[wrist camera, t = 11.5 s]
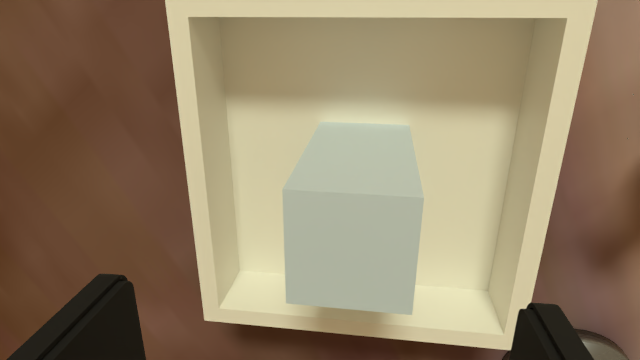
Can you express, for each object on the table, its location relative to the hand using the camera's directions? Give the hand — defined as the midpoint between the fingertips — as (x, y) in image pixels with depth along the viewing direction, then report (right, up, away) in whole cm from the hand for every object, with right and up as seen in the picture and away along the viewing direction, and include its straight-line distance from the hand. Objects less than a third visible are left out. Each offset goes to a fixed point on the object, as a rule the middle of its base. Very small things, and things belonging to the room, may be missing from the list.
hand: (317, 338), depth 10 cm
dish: (+2, +5, +11) cm, 12 cm away
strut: (+2, +5, +10) cm, 11 cm away
